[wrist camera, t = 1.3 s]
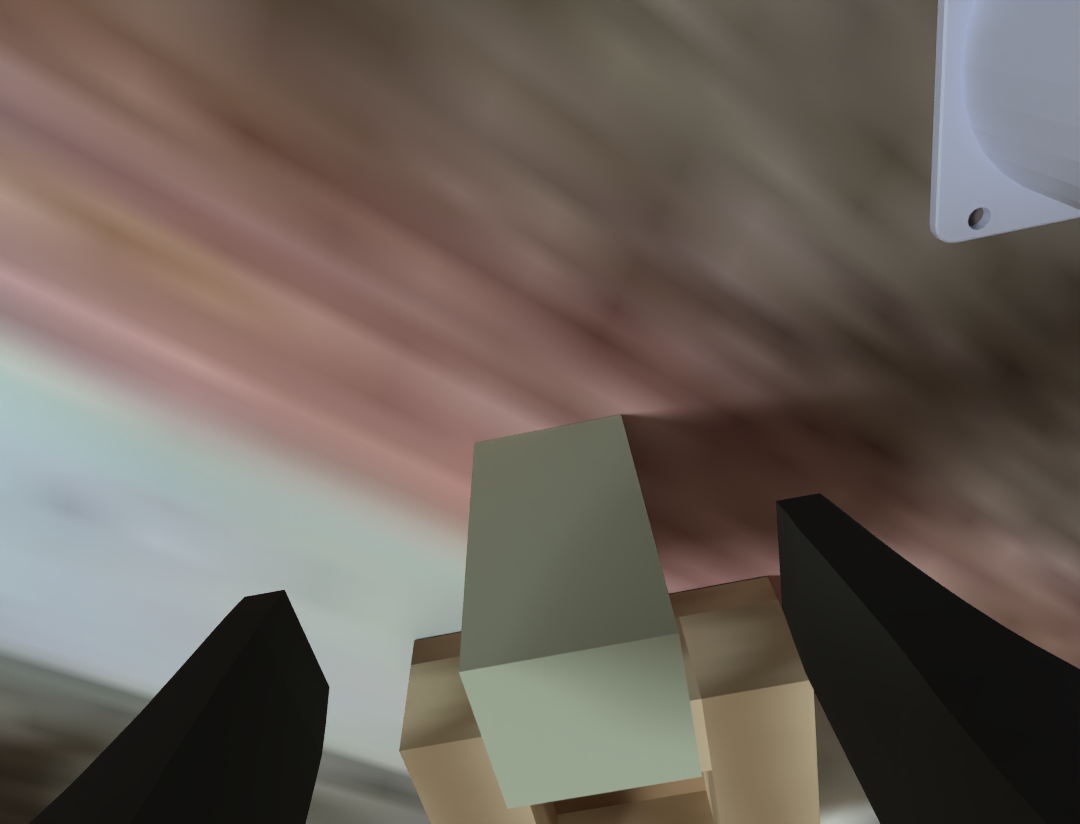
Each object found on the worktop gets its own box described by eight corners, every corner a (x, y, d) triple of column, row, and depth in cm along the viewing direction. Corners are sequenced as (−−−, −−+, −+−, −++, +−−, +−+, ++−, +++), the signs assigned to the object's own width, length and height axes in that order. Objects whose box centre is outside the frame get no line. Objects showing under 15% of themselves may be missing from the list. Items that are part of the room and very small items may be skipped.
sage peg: (620, 414, 21) (679, 632, 14) (641, 532, 23) (702, 776, 16) (474, 443, 21) (458, 672, 14) (506, 557, 23) (507, 809, 16)
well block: (767, 576, 24) (813, 679, 20) (785, 802, 29) (824, 914, 26) (414, 640, 24) (399, 751, 21) (494, 849, 30) (493, 965, 26)
